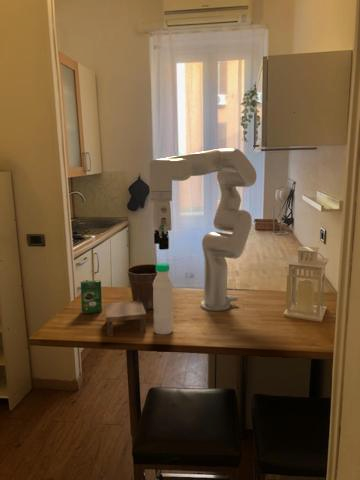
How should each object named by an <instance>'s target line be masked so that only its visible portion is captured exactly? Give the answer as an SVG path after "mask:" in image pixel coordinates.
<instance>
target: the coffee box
mask: <svg viewBox="0 0 360 480" xmlns="http://www.w3.org/2000/svg"><path fill="white" fill-rule="evenodd" d="M80 299H81V301H80V302H81V306H80V307H81V313H82V315H85V314H93V313H94V314H95V313H101V312H102V311H103V310H102V309H103V308H102V307H103V305H102V281H101V279H97V280H95V279H94V280H84V281H80Z"/></svg>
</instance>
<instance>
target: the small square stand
mask: <svg viewBox="0 0 360 480" xmlns="http://www.w3.org/2000/svg"><path fill="white" fill-rule="evenodd" d="M104 311H105V320H106V321H105V322H106V323H107V324H106V325H107V328H106V329H107V336H108V337H110V336H109V335H113V336H114V325H113V324H114V323H113V322H120V321H121V322H122V321H130V320H131V321H132V320H137V321H139V330H140V333H146V331H147V329H146V327H147V324H146V322H147V321H146V320H147V312H146V310H145V309H144V306H143V304H142V301H133V300H132V301H121V302H109V303H108V302H107V303H104Z"/></svg>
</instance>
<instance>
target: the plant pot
mask: <svg viewBox="0 0 360 480" xmlns="http://www.w3.org/2000/svg"><path fill="white" fill-rule="evenodd" d="M156 265H157V264H155V263H149V264H148V263H147V264H136V265H133V266H129V267H128V268H127V269H126V272H127V274H128V280H129V283H130V291H131V297H132V298H131V299H132V301H142V304H143V306H144V309H145V311H149V310H150V309H152V310H154V308H153V282H154V280H155V277H156V275H157V272H156Z"/></svg>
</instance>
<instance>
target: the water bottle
mask: <svg viewBox="0 0 360 480" xmlns="http://www.w3.org/2000/svg"><path fill="white" fill-rule="evenodd" d="M155 265H156V272H157V275H156V277H155V280H154V282H153V308H154V309H153V316H152V317H153V332H154V333H155V334H157V335H169V334H171V333H172V332H173V331H174V323H173V322H174V321H173V320H174V313H173V311H174V310H173V308H174V295H173V285H174V283H173V280H172V279H171V276H170V275H169V272H170V265H169V264H168V263H166V262H165V263H164V262H158V263H157V264H155Z"/></svg>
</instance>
